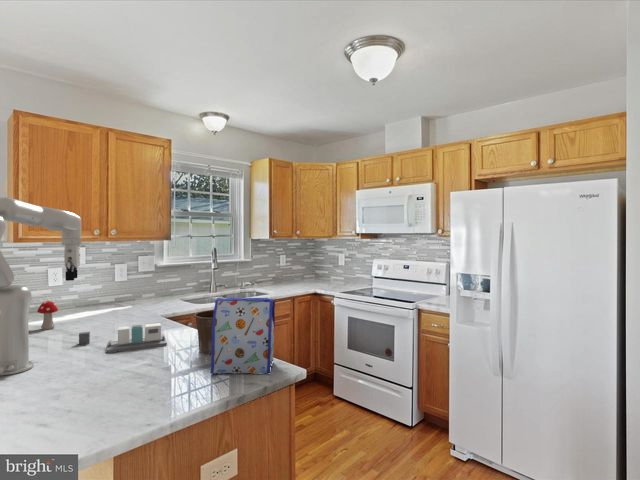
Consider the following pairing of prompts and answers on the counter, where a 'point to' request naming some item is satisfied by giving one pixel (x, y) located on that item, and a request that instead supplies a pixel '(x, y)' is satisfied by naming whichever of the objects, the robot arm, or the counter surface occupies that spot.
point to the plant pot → (205, 330)
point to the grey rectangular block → (84, 338)
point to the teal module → (137, 333)
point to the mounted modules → (150, 333)
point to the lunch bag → (243, 335)
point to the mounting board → (135, 346)
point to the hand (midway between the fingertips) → (71, 279)
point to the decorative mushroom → (47, 314)
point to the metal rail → (133, 343)
